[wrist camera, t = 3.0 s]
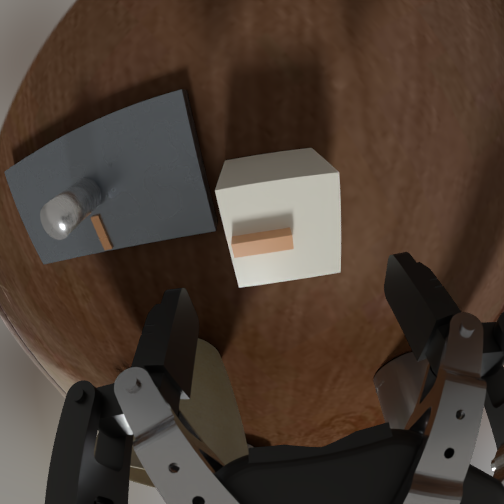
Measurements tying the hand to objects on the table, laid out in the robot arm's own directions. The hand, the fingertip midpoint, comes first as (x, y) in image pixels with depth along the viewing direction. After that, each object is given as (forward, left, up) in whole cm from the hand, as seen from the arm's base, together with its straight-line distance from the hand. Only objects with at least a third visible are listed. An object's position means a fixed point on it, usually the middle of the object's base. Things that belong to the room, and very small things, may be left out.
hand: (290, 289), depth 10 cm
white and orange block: (0, 0, -11) cm, 11 cm away
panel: (+13, -3, -11) cm, 17 cm away
